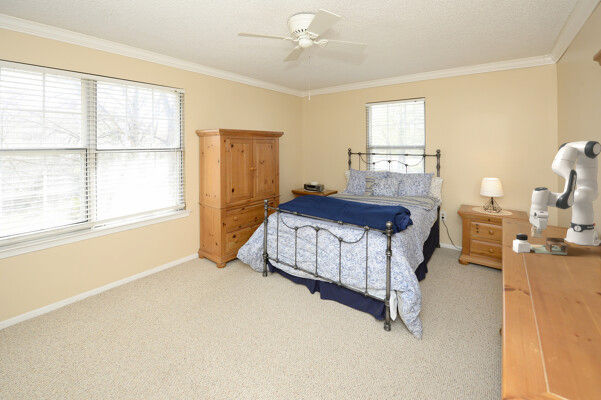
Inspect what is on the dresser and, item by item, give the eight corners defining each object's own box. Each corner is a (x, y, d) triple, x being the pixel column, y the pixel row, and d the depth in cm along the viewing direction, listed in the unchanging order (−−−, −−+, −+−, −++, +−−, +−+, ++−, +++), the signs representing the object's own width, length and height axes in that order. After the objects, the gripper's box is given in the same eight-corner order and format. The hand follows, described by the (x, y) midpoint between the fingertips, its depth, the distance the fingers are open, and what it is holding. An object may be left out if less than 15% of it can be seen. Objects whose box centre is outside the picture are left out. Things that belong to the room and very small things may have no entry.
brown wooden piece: (562, 250, 192) (563, 238, 191) (567, 253, 186) (568, 241, 185) (545, 249, 196) (546, 237, 194) (549, 252, 189) (550, 240, 188)
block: (530, 235, 204) (531, 227, 203) (538, 236, 203) (539, 227, 202) (532, 237, 200) (533, 228, 199) (541, 238, 198) (542, 229, 197)
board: (556, 249, 202) (557, 245, 201) (566, 256, 188) (567, 252, 188) (527, 247, 208) (528, 243, 207) (535, 254, 194) (535, 250, 193)
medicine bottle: (530, 253, 195) (531, 235, 194) (517, 253, 197) (518, 235, 195) (524, 250, 202) (525, 233, 201) (512, 250, 204) (513, 233, 202)
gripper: (527, 208, 209) (525, 228, 211) (538, 215, 190) (535, 236, 193) (538, 209, 207) (536, 228, 209) (550, 215, 188) (548, 237, 190)
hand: (536, 232), depth 201 cm, fingers closed on block, 4 cm apart
